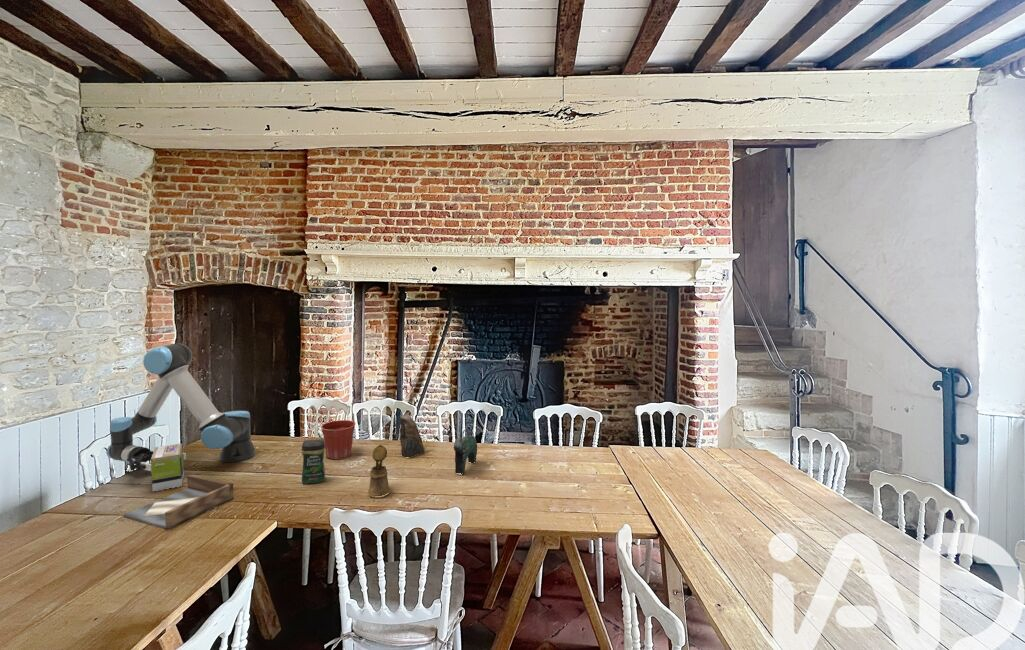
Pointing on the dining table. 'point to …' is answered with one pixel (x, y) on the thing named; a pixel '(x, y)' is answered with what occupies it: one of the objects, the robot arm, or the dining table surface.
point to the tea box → (167, 467)
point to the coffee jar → (313, 461)
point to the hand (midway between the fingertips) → (169, 461)
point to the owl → (410, 437)
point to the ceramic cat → (464, 451)
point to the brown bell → (379, 474)
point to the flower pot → (338, 438)
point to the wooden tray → (184, 503)
